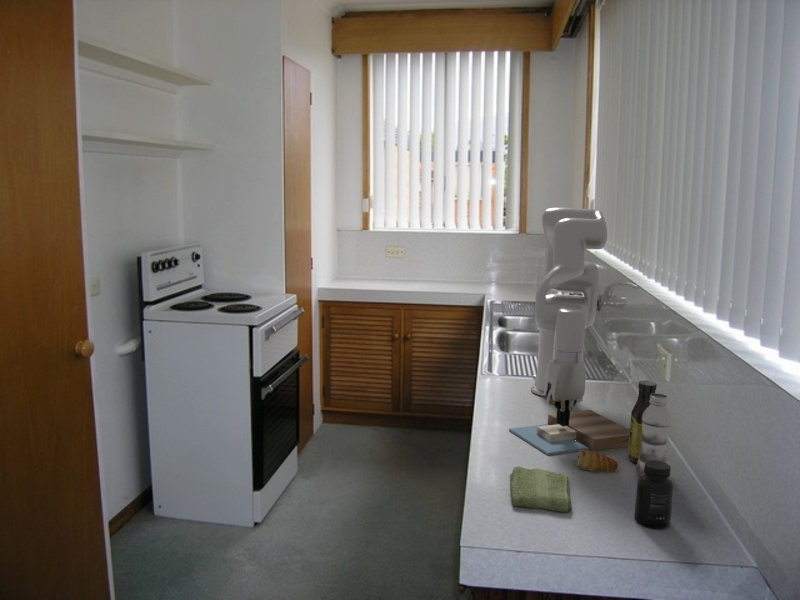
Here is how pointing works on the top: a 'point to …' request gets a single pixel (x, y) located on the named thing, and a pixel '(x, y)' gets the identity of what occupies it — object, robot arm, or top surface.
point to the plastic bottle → (654, 431)
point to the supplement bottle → (654, 496)
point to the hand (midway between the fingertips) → (562, 424)
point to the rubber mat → (546, 441)
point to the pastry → (596, 462)
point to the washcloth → (540, 489)
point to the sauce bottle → (639, 418)
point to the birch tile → (556, 433)
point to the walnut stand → (595, 430)
